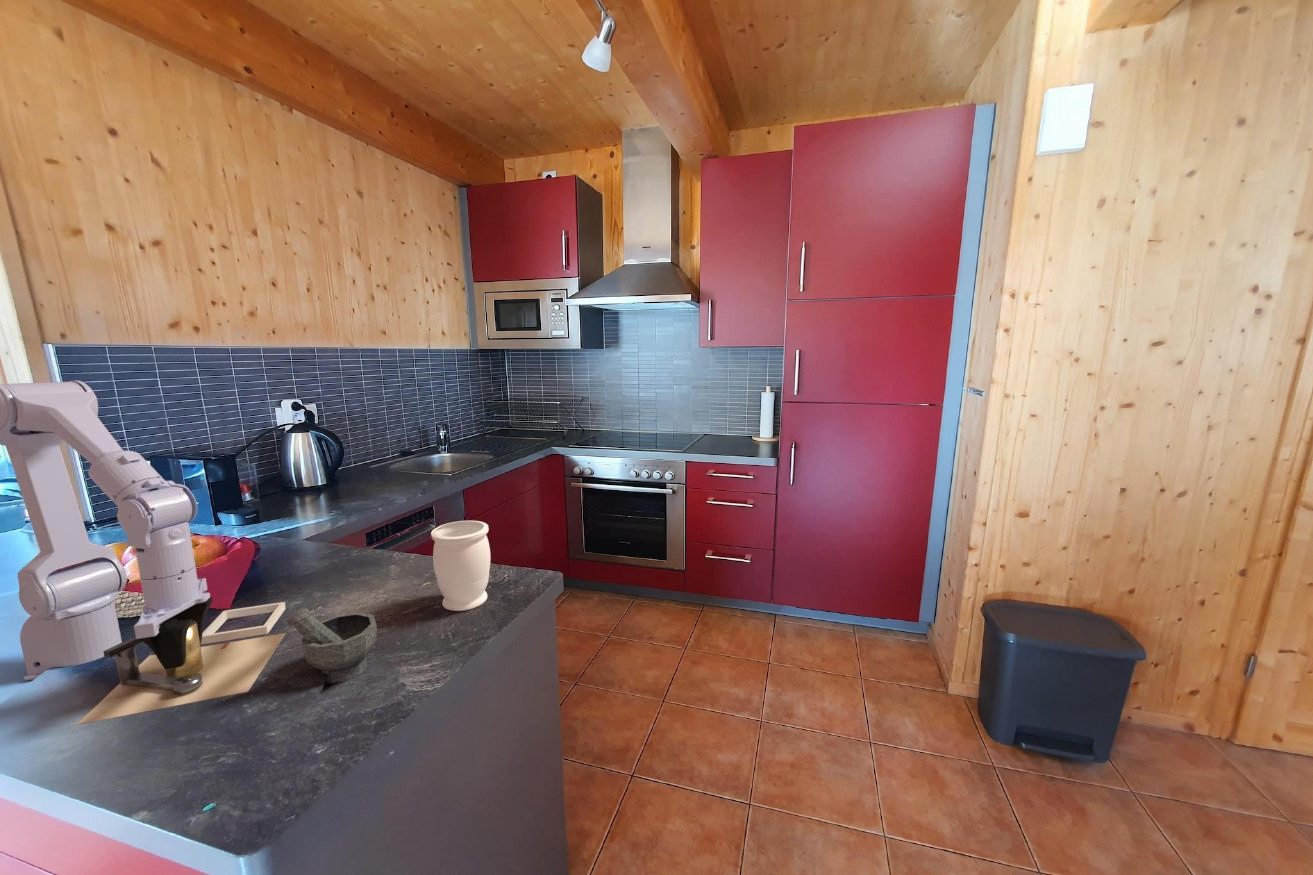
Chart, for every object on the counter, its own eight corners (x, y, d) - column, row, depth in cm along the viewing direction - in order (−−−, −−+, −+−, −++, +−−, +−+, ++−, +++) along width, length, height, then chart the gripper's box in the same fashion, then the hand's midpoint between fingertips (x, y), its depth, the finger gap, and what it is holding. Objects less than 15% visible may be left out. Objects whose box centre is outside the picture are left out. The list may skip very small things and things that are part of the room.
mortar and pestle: (363, 644, 83) (356, 577, 81) (392, 664, 78) (385, 592, 76) (284, 680, 74) (274, 605, 72) (310, 705, 69) (300, 624, 67)
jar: (494, 608, 95) (490, 533, 93) (435, 619, 91) (429, 541, 89) (491, 585, 105) (487, 517, 102) (437, 594, 101) (432, 523, 99)
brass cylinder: (160, 682, 71) (152, 637, 70) (175, 666, 75) (168, 623, 74) (195, 676, 73) (188, 631, 72) (208, 660, 76) (201, 618, 75)
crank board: (77, 733, 64) (75, 724, 63) (150, 662, 78) (149, 654, 78) (248, 699, 70) (247, 690, 70) (286, 639, 85) (285, 632, 85)
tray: (200, 651, 81) (198, 637, 81) (225, 623, 90) (223, 610, 89) (268, 640, 85) (266, 626, 84) (286, 614, 93) (284, 601, 93)
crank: (212, 679, 72) (206, 642, 71) (181, 698, 68) (175, 659, 67) (141, 671, 74) (134, 635, 73) (107, 688, 70) (100, 650, 69)
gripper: (176, 588, 66) (192, 680, 68) (225, 549, 79) (237, 627, 82) (106, 597, 64) (124, 692, 66) (169, 555, 77) (182, 636, 79)
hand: (183, 657), depth 74 cm, fingers closed on brass cylinder, 4 cm apart
